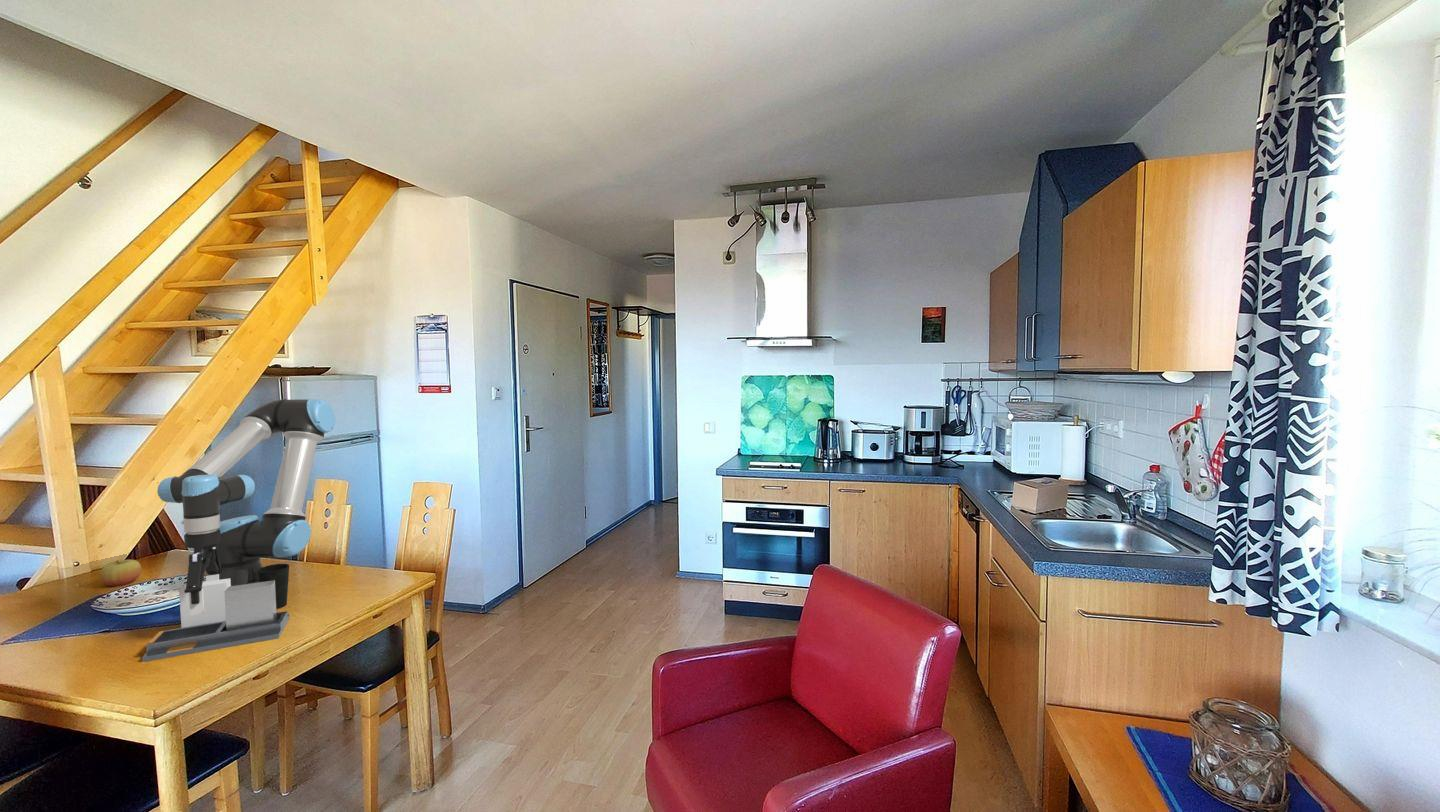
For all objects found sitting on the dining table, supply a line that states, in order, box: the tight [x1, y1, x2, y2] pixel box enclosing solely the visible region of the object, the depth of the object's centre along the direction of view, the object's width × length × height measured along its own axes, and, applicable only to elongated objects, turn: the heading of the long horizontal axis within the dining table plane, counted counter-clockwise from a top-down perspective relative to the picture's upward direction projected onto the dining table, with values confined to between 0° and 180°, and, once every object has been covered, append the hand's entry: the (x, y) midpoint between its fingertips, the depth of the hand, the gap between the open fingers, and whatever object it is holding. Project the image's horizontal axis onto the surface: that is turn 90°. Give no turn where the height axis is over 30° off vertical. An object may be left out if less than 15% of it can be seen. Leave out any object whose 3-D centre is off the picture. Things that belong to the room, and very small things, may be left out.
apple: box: [99, 559, 142, 587], centre depth 191 cm, size 10×10×8 cm
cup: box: [257, 563, 290, 610], centre depth 173 cm, size 8×8×12 cm
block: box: [178, 578, 231, 628], centre depth 160 cm, size 4×10×12 cm, turn 118°
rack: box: [141, 580, 290, 663], centre depth 152 cm, size 14×27×13 cm, turn 118°
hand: (205, 605), depth 160 cm, fingers open, 13 cm apart
